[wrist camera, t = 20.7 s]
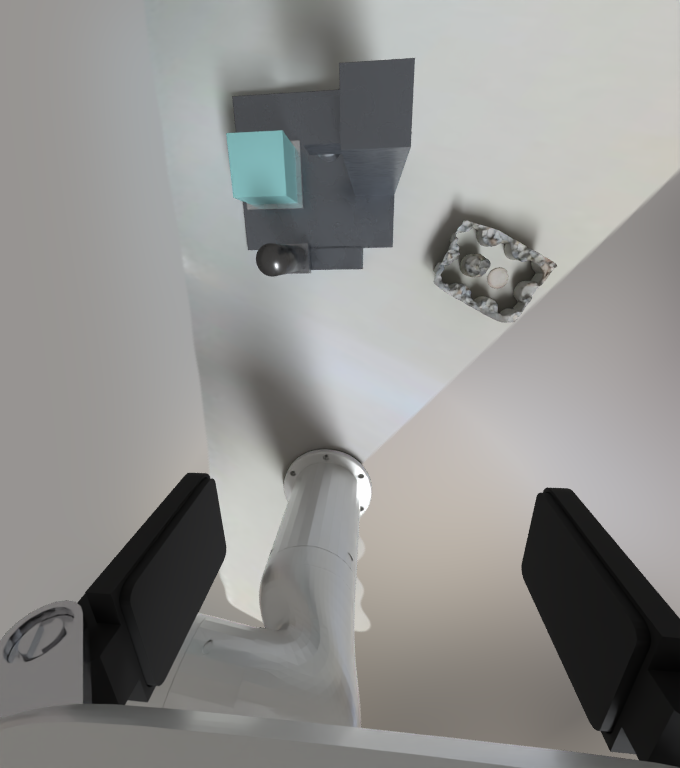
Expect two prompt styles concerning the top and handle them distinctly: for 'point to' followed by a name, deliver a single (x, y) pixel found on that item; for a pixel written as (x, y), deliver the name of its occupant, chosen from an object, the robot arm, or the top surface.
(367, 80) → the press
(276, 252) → the lever
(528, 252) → the egg carton
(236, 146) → the teal cube block
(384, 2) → the top surface
